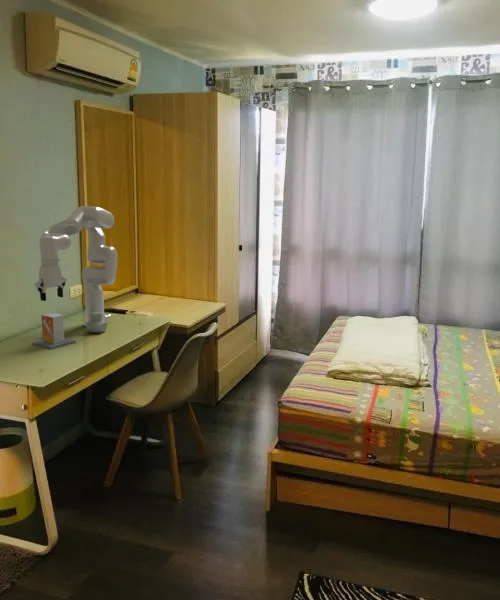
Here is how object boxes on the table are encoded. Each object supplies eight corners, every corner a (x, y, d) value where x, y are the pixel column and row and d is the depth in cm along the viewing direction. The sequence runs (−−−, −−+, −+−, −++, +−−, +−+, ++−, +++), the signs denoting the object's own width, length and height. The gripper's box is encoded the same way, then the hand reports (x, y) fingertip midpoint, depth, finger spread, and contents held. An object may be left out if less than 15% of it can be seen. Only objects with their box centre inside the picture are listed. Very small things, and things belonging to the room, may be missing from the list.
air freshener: (99, 335, 299) (99, 315, 297) (84, 333, 301) (83, 314, 299) (109, 329, 310) (108, 311, 308) (94, 328, 311) (93, 310, 309)
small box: (42, 341, 282) (40, 314, 280) (53, 338, 288) (51, 312, 285) (54, 344, 278) (52, 317, 275) (64, 341, 283) (63, 314, 281)
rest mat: (56, 337, 293) (56, 335, 292) (75, 342, 285) (75, 340, 285) (32, 344, 281) (32, 342, 281) (51, 349, 274) (51, 347, 273)
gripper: (59, 259, 284) (61, 294, 288) (28, 264, 270) (31, 301, 274) (70, 261, 280) (72, 296, 284) (39, 266, 266) (41, 303, 270)
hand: (52, 298), depth 279 cm, fingers open, 9 cm apart
